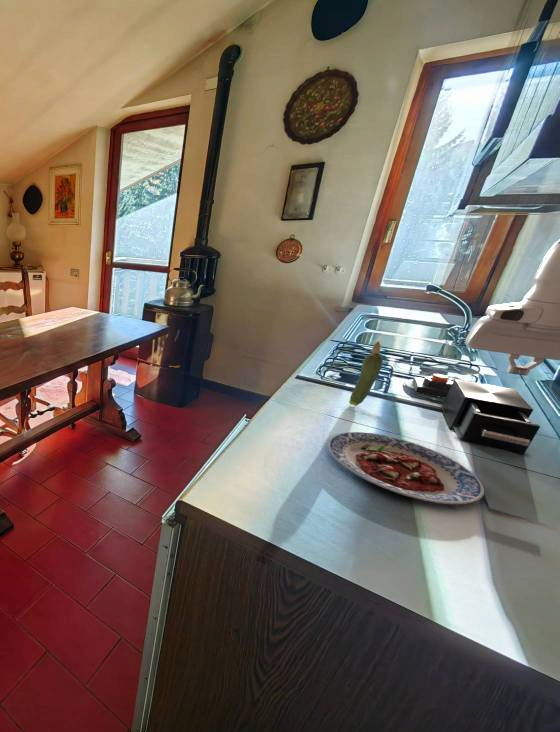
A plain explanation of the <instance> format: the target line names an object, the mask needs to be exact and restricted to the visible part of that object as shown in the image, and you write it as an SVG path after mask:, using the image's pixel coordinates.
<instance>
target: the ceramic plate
mask: <svg viewBox="0 0 560 732" xmlns="http://www.w3.org/2000/svg"><path fill="white" fill-rule="evenodd" d="M328 450H329V452H330V454H331V456H333V458H334V459H335V460H336V461H337V462H338V463H339V464H340V465H342V466H343V467H344V468H346V469H347V470H349V472H350V471H351V473H353V474H354V475H356V476H358V477H359V478H362V479H364V480H366V481H367V482H369V483H372V484H374V485H375V486H378V487H380V488H382V489H386V490H387V491H391V492H394V493H396V494H399V495H402V496H406V497H409V498H413V499H416V500H420V501H426V502H430V503H436V504H443V505H444V504H445V505H466V504H471V503H475V502H478V501H479V500H480V499H482V498H483V496H484V495H485V488H484V487H485V486H484V485H483V483H482V482H481V480H480V479H479V477H477V475H475V474H474V473H473V472H472V471H470V470H469V469H468V468H466V466H464V465H462V464H461V463H459V462H458V461H456V460H454V459H452V458H450V457H449V456H447V455H444V454H443V453H441V452H438V451H436V450H433V449H431V448H429V447H427V446H424V445H421V444H418V443H415V442H412V441H409V440H406V439H402V438H399V437H395V436H390V435H385V434H381V433H375V432H373V433H372V432H363V431H361V432H360V431H348V432H342V433H338V434H336V435H333V436H332V437H331V438H330V439H329V441H328Z"/></svg>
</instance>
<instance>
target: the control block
mask: <svg viewBox="0 0 560 732" xmlns="http://www.w3.org/2000/svg"><path fill="white" fill-rule="evenodd" d="M432 376H433V375H426V376H424V378H423V377H417V376H414V377H413V378H412V381H411V382H412V383H413V384H412V383H411V384H412V386H414V387H413V389H415V390H414V393H416V392H419V393H418V394H421V393H424V394H423V395H426V394H429V395H428V396H431V395H434V397H437V396H440V397H439V398H442V397H445V398H444V399H446V397H447V395H448V393H449V390H450V388H451V386H452V384H453V382H454V381H452V380H450V379H448V381H447V383H443V382H437V381H434V380H432Z"/></svg>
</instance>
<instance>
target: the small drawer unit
mask: <svg viewBox="0 0 560 732" xmlns="http://www.w3.org/2000/svg"><path fill="white" fill-rule="evenodd" d="M456 426H457V427H458V429H459V432H460V433H461V436H460V437H459V438H460V441H462V442H466V443H471V444H474V445H479V446H483V447H488V448H491V449H496V450H501V451H505V452H509V453H513V454H517V455H522V456H524V455H525V453H526V452H527V450H528V449H529V447H530V445H531V443H532V442H533V440H534V438H535V436H536V435H537V434H538V431H539V430H540V428H541V426H540V425H539V424H537V423H532V421H531V420H530V418H527V416H526V415H525V414H524V413H523V412H522V411H521V410H516V409H511V408H505V407H500V406H495V405H490V404H484V403H479V402H474V401H469V400H468V402H467V404H466V406H465V408H464V410H463V412H462V414H461V417H460V419H459V421H458V423H457V425H456Z"/></svg>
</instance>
